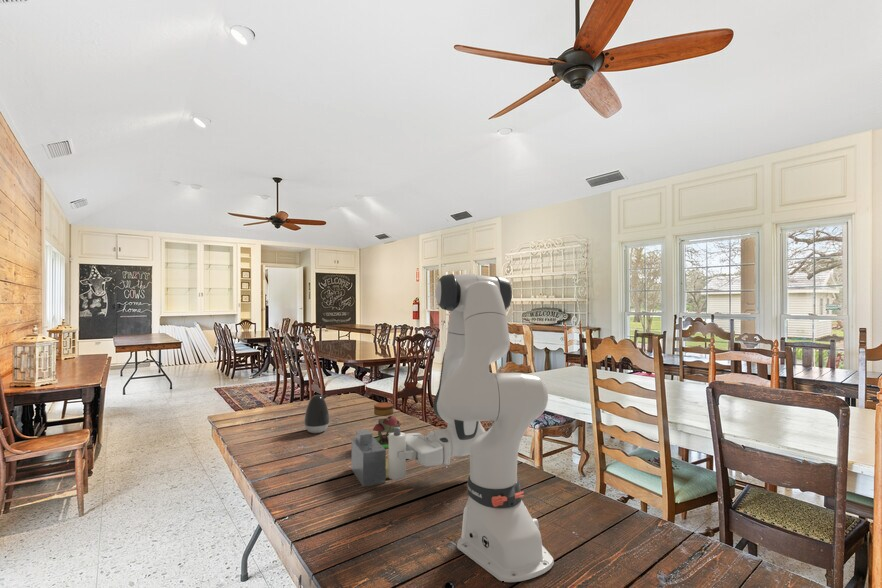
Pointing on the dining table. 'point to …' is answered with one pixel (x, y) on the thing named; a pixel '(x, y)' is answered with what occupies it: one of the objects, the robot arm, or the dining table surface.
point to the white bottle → (395, 445)
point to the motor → (369, 459)
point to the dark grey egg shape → (317, 415)
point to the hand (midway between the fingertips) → (394, 452)
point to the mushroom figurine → (385, 422)
